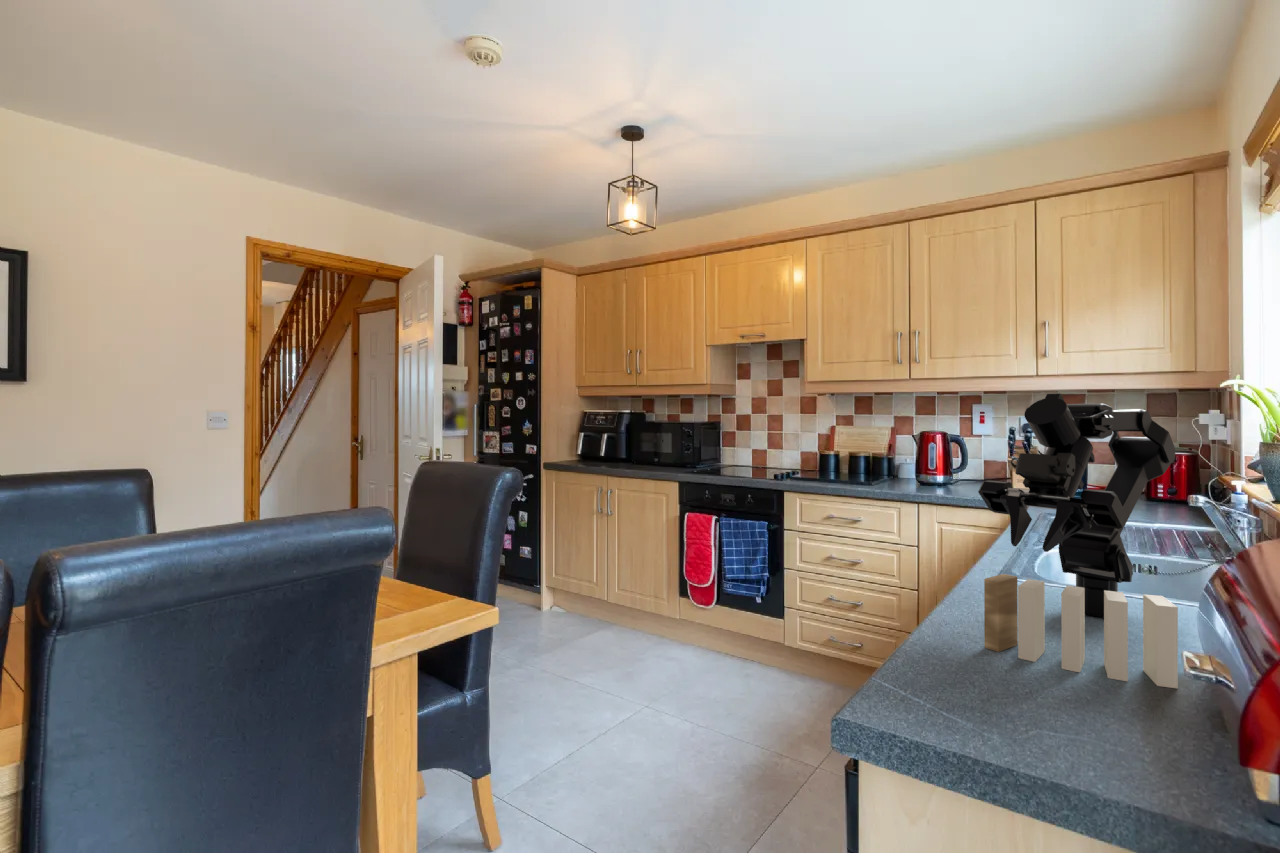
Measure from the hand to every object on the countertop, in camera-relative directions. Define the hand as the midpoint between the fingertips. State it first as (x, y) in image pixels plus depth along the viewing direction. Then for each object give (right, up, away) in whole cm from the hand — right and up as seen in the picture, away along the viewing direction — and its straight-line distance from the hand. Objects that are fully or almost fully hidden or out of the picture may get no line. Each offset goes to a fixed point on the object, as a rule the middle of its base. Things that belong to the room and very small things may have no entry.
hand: (1028, 547), depth 93 cm
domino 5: (+8, -14, -15) cm, 21 cm away
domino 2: (-3, -14, -6) cm, 16 cm away
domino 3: (0, -14, -10) cm, 17 cm away
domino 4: (+4, -14, -12) cm, 19 cm away
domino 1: (-6, -14, -3) cm, 15 cm away
